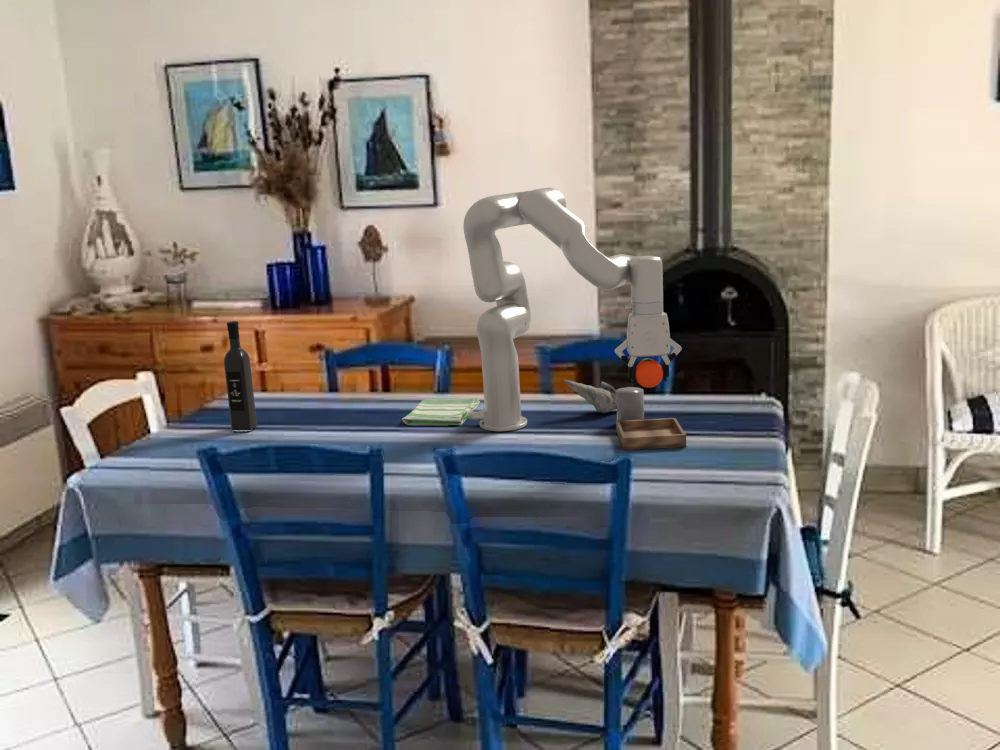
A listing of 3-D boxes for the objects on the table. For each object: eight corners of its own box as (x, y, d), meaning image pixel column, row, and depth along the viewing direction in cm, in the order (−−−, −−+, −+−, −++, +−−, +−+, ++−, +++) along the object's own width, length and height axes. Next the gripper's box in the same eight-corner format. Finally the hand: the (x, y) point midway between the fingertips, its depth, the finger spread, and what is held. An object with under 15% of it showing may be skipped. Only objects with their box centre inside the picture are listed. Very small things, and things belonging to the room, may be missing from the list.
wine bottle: (249, 432, 278) (237, 323, 271) (230, 432, 279) (217, 324, 272) (258, 427, 283) (246, 320, 276) (239, 426, 284) (227, 320, 278)
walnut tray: (623, 450, 245) (623, 438, 244) (616, 432, 260) (616, 421, 259) (686, 446, 245) (686, 434, 244) (675, 429, 259) (675, 417, 259)
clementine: (627, 385, 252) (627, 356, 250) (652, 381, 254) (652, 353, 252) (643, 392, 244) (642, 363, 243) (668, 388, 247) (668, 359, 245)
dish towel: (481, 404, 296) (480, 395, 295) (463, 427, 274) (463, 417, 273) (421, 404, 299) (421, 395, 299) (399, 427, 277) (398, 417, 276)
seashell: (627, 416, 274) (626, 379, 271) (564, 417, 276) (562, 380, 274) (628, 406, 283) (627, 371, 281) (567, 407, 286) (566, 372, 284)
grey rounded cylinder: (618, 428, 263) (617, 394, 261) (615, 421, 270) (614, 388, 268) (646, 427, 263) (645, 393, 261) (642, 419, 270) (641, 386, 268)
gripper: (612, 312, 241) (614, 386, 245) (686, 308, 241) (687, 382, 245) (609, 307, 249) (611, 379, 253) (680, 303, 248) (681, 375, 252)
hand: (648, 380), depth 249 cm, fingers closed on clementine, 7 cm apart
